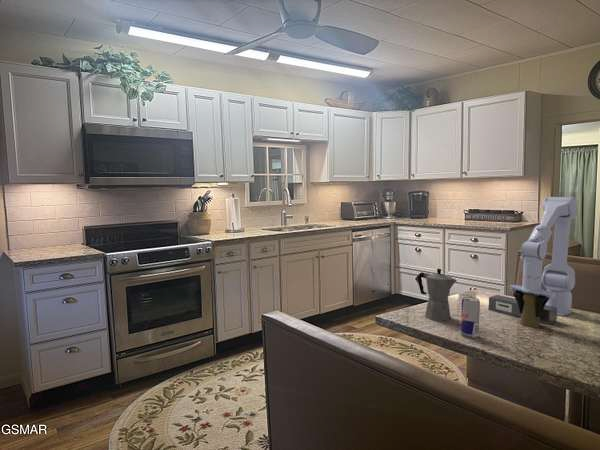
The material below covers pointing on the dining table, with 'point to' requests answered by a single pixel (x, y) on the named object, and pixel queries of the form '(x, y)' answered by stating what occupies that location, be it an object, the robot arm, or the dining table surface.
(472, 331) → the energy drink
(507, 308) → the dark gray slotted box
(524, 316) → the cork
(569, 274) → the robot arm
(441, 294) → the coffeepot
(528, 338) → the dining table surface
